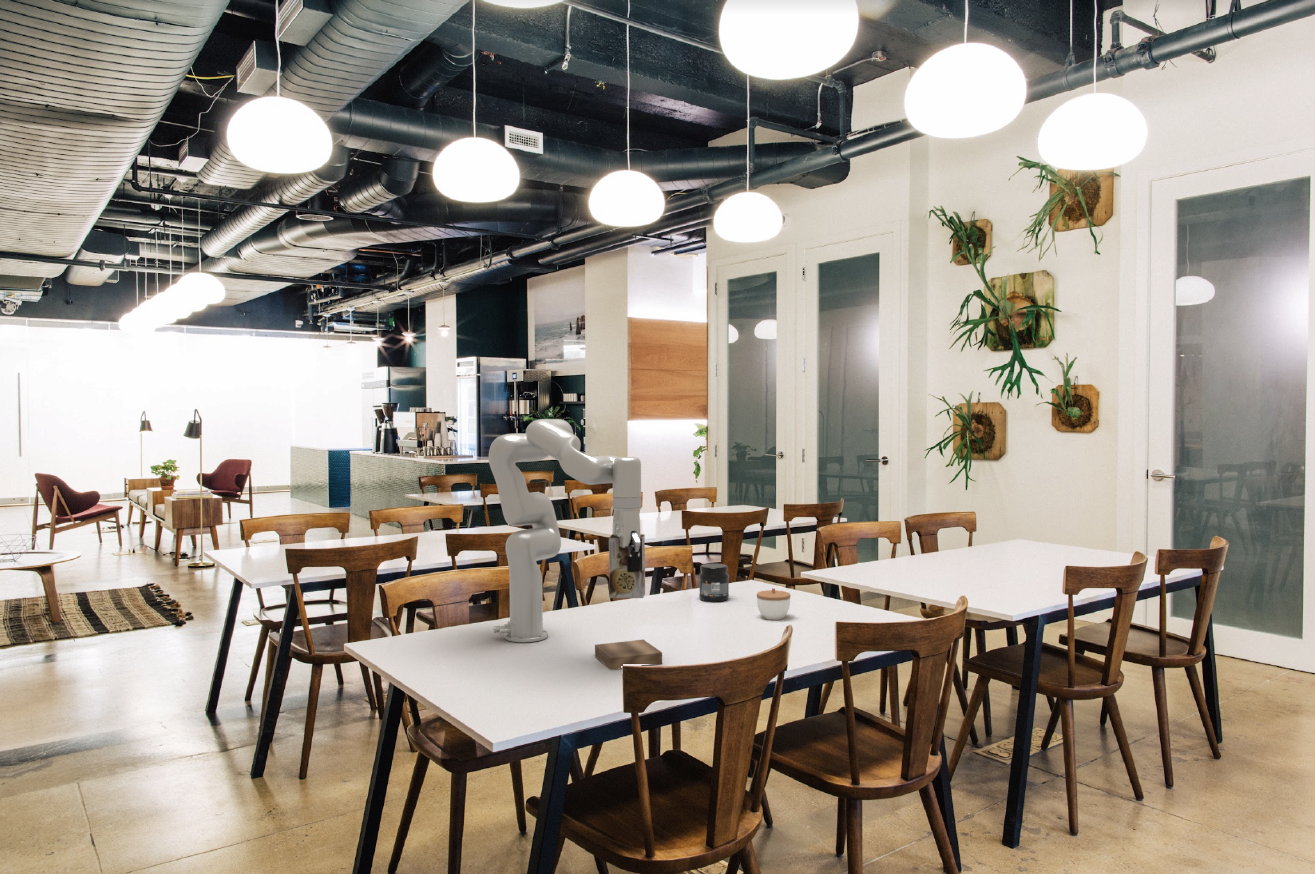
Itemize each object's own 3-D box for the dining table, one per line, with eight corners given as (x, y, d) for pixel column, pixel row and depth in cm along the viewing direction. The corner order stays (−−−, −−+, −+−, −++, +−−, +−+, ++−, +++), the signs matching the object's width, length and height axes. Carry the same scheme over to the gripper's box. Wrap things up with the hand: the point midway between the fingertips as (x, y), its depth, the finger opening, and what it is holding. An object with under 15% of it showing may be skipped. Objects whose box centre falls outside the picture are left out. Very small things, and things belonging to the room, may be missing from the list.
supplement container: (714, 595, 305) (714, 562, 305) (735, 599, 297) (735, 565, 297) (693, 599, 299) (692, 565, 298) (713, 604, 290) (713, 569, 290)
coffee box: (645, 593, 226) (645, 533, 226) (643, 598, 220) (643, 537, 219) (612, 593, 227) (612, 533, 227) (608, 598, 221) (608, 536, 220)
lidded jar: (792, 621, 265) (792, 591, 265) (758, 621, 265) (758, 592, 265) (788, 613, 276) (788, 585, 275) (755, 613, 276) (755, 585, 276)
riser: (611, 669, 215) (611, 658, 215) (595, 655, 228) (594, 644, 228) (662, 663, 220) (662, 652, 220) (643, 650, 233) (643, 639, 233)
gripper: (603, 501, 229) (603, 564, 230) (624, 507, 213) (624, 575, 214) (629, 500, 232) (629, 562, 233) (652, 506, 216) (652, 573, 216)
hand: (627, 568), depth 223 cm, fingers closed on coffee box, 8 cm apart
